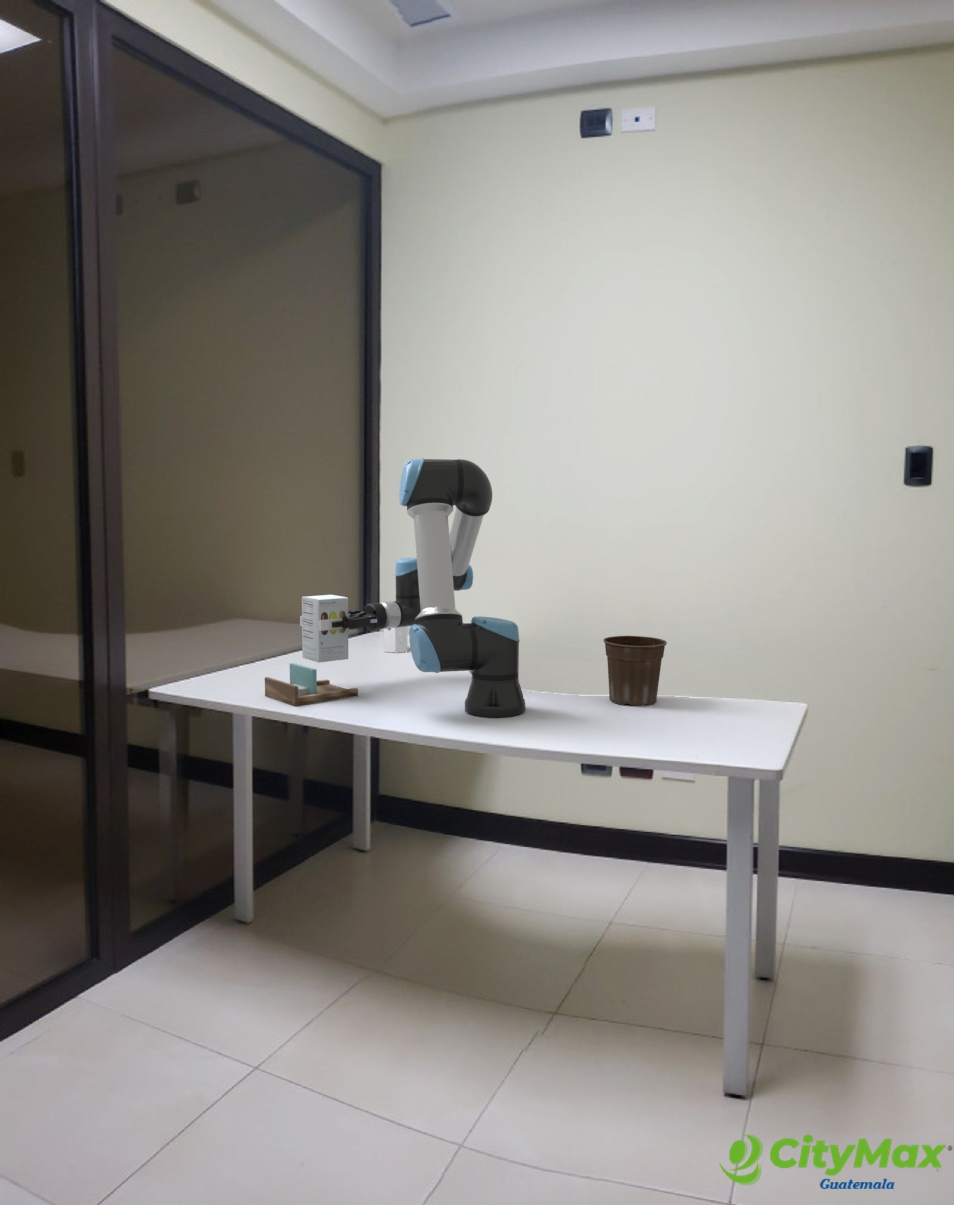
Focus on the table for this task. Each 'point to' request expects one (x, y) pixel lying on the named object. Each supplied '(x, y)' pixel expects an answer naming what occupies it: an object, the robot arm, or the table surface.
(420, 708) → the table surface
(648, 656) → the plant pot
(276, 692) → the lane
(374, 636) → the table surface
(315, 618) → the supplement box
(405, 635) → the jar
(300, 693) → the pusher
